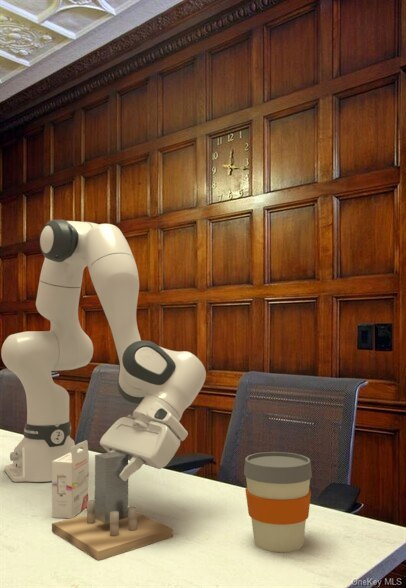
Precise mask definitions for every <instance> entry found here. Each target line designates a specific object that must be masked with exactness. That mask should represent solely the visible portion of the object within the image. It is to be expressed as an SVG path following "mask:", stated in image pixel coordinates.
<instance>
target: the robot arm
mask: <svg viewBox="0 0 406 588" xmlns="http://www.w3.org/2000/svg"><path fill="white" fill-rule="evenodd" d="M39 248H40V249H39V250H40V251H41V254H43V256H44V260H43V263H42V266H41V270H40V275H39V282H38V288H37V293H36V300H35V307H36V311H37V312H38V313H39V314H40V315H41V316H42V317H43V318H45V319H46V320H48V321H49V322H50V328H49V329H50V330H45V331H43V330H42V331H40V330H39V331H38V330H36V331H32V330H31V331H30V330H29V331H23V332H22V331H21V332H17V333H14V334H13V333H12V334H10V335H8V336H7V337H6V338H5V340H4V342H3V344H2V347H1V350H0V351H1V352H0V354H1V356H0V357H1V360H2V362H3V364H4V366H5V367H6V368H7V369H8V370H9V371H11V372H12V373H14V375H15V376H16V377H17V378H18V379H19V381H20V382H21V384H22V386H23V389H24V391H25V397H26V423H25V424H24V428H23V438H22V439H21V440H20V441H19V443H18V444H17V445H16V446H15V447H14V449H13V451H12V452H10V454H9V458H10V459H9V460H10V461H11V462H12V463H11V464H7V465H5V466H4V468H3V470H4V472H5V473H6V474H7V476H8V477H9V478H10V479H11V481H12V482H15V483H19V482H21V483H22V482H31V483H32V482H33V483H44V482H45V483H46V482H52V461H54V460H56V459H58V458H60V457H62V456H64V455H66V454H68V453H71V447H73V446H75V445H76V443H75V441H74V439H73V438H71V431H72V425H71V421H70V394H69V392H68V391H67V389H66V388H65V387H63V386H61V385H59V384H58V383H56V382H54V380H53V376H52V372H54V371H55V372H58V371H70V370H76V369H79V368H83V367H85V366H87V365H88V364H90V362H91V360H92V359H93V354H94V344H93V341H92V340H91V338H90V337H89V335H87V334H86V332H85V331H84V330H83V328H82V326H81V324H80V320H79V304H80V303H79V302H80V296H81V290H82V284H83V277H84V276H83V275H84V270H85V268H86V267H87V270H88V272H89V276H90V280H91V283H92V285H93V287H94V290H95V292H96V294H97V297H98V299H99V301H100V304H101V307H102V309H103V312H104V314H105V318H106V319H107V322H108V325H109V327H110V332H111V335H112V336H111V337H112V339H113V343H114V348H115V351H116V355H117V360H118V366H119V367H118V373H117V380H116V385H117V386H116V388H117V391H118V392H119V394H120V395H121V397H122V398H123V399H124V400H125V401H128V402H129V403H132V404H135V405H136V404H137V405H138V406H137V407H136V408H135V409H134V410H133V412H132V413H130V414H128V415H127V416H123V417H120V418H118V419H117V420H116V421H115V422H114V423H112V425H110V428H108V430H106V432H105V433H104V434H103V435H102V436H101V438H100V441H99V445H100V446H101V447H102V448H103V449H104V450H105V451H106V453H109V452H115V451H119V452H122V453H125V454H128V461H130V462H128V465H127V466H126V467H124V468H121V469H120V470H119V472H118V473H117V477H118V478H119V479H121V480H123V481H127V479H128V480H129V478H130V477H131V475H133V474H135V472H137V471H139V470H140V469H141V468H142V467H143V465H145V466H148V467H151V468H154V469H157V470H162V469H163V468H165V467H166V466H167V465H168V464H170V461H171V460H172V459H173V457H174V456H175V455H176V453H177V452H178V449H179V448H180V446H181V442H183V441H185V440H186V439H187V437H188V435H189V433H188V431H187V429H185V427H184V426H183V425H182V423H181V422H180V421H181V419H182V416H183V413H184V412H185V411H186V409H187V408H188V407H190V406H191V405H192V403H193V402H194V401H195V399H196V398H197V396H198V394H199V393H200V391H201V390H202V388H203V386H204V384H205V382H206V376H207V371H206V368H205V366H204V364H203V362H202V361H201V360H200V359H199V357H197V356H196V355H195V354H194V353H192V352H190V351H188V350H187V351H185V350H183V351H177V350H171V349H168V348H164V347H162V346H159V345H158V344H157V343H155V342H153V341H150V340H142V339H141V334H140V332H139V329H138V321H137V309H138V299H139V294H140V293H139V292H140V291H139V290H140V279H139V272H138V266H137V263H136V259H135V257H134V255H133V252H132V250H131V247H130V245H129V242H128V241H127V239H126V237H125V235H123V232H122V231H121V230H120V228H119V227H118V226H116V225H114V224H111V223H100V224H98V223H95V222H90V221H78V220H77V221H76V220H65V219H53V220H48V221H47V222H46V223H45V225H44V226H43V227H42V229H41V231H40V235H39Z"/></svg>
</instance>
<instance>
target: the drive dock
mask: <svg viewBox="0 0 406 588" xmlns="http://www.w3.org/2000/svg"><path fill="white" fill-rule="evenodd" d="M51 532H52V533H54V534H56V535H57V536H59V537H60V538H61V539H64V540H66V542H68V543H70V544H72V545H73V546H74V547H76V548H78V549H79V550H82V551H83V552H84V553H86V554H87V555H89V556H91V557H92V558H94V559H95V560H97V561H101V560H104V559H107V558H111V557H113V556H116V555H119V554H123V553H125V552H129V551H132V550H135V549H138V548H141V547H145V546H147V545H151V544H154V543H157V542H160V541H163V540H167V539H169V538H173V536H174V528H173V527H170V526H169V525H166V524H164V523H161V522H160V521H157V520H155V519H153V518H150V517H148V516H146V515H144V514H142V513H140V512H138V507H137V506H134V505H133V506H132V505H131V506H128V518H125V519H121V520H119V512H118V511H112V512H110V523H107V524H105V523H103V522H101V521H99V520H97V519H95V499H90V500H89V499H88V501H87V507H86V514H83V515H82V514H81V515H79V516H75V517H74V518H65V519H64V520H63V519H62V520H60V521H54V522H52V523H51Z"/></svg>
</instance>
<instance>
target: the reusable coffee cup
mask: <svg viewBox="0 0 406 588" xmlns="http://www.w3.org/2000/svg"><path fill="white" fill-rule="evenodd" d="M244 459H245V460H244V467H243V469H244V470H243V475H244V476H245V479H246V481H245V482H246V487H245V496H246V497H245V498H246V504H247V512H248V516H249V517H250V519H251V526H252V533H253V534H252V535H253V541H254V544H255V545H256V547H258V548H259V549H262V550H265V551H268V552H274V553H288V552H289V553H290V552H294V551H297V550H299V549H301V548H302V547H304V542H305V541H304V540H305V531H306V523H307V522H306V521H307V520H308V518H309V515H310V505H311V496H312V491H311V489H310V485H311V479H312V477H313V474H312V463H311V459H310V458H309V457H307V456H305V455H302V454H298V453H295V452H294V453H292V452H282V451H281V452H280V451H265V452H256V453H253V454H250V455H248V456H246V457H245V458H244Z"/></svg>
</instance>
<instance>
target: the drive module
mask: <svg viewBox="0 0 406 588" xmlns="http://www.w3.org/2000/svg"><path fill="white" fill-rule="evenodd" d="M128 464H129V459H128V454H125V453H122V452H119V451H115V452H109V453H108V452H105V453H98V454H95V455H94V500H95V519H97V520H99V521H101V522H103V523H105V524H107V523H110V512H112V511H118V512H119V520H121V519H125V518H128V508H129V478H128V479H127V481H123V480H121V479H119V478H118V477H117V473H118V472H119V470H120V469H121V468H124V467H126V466H127V465H128Z"/></svg>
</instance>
